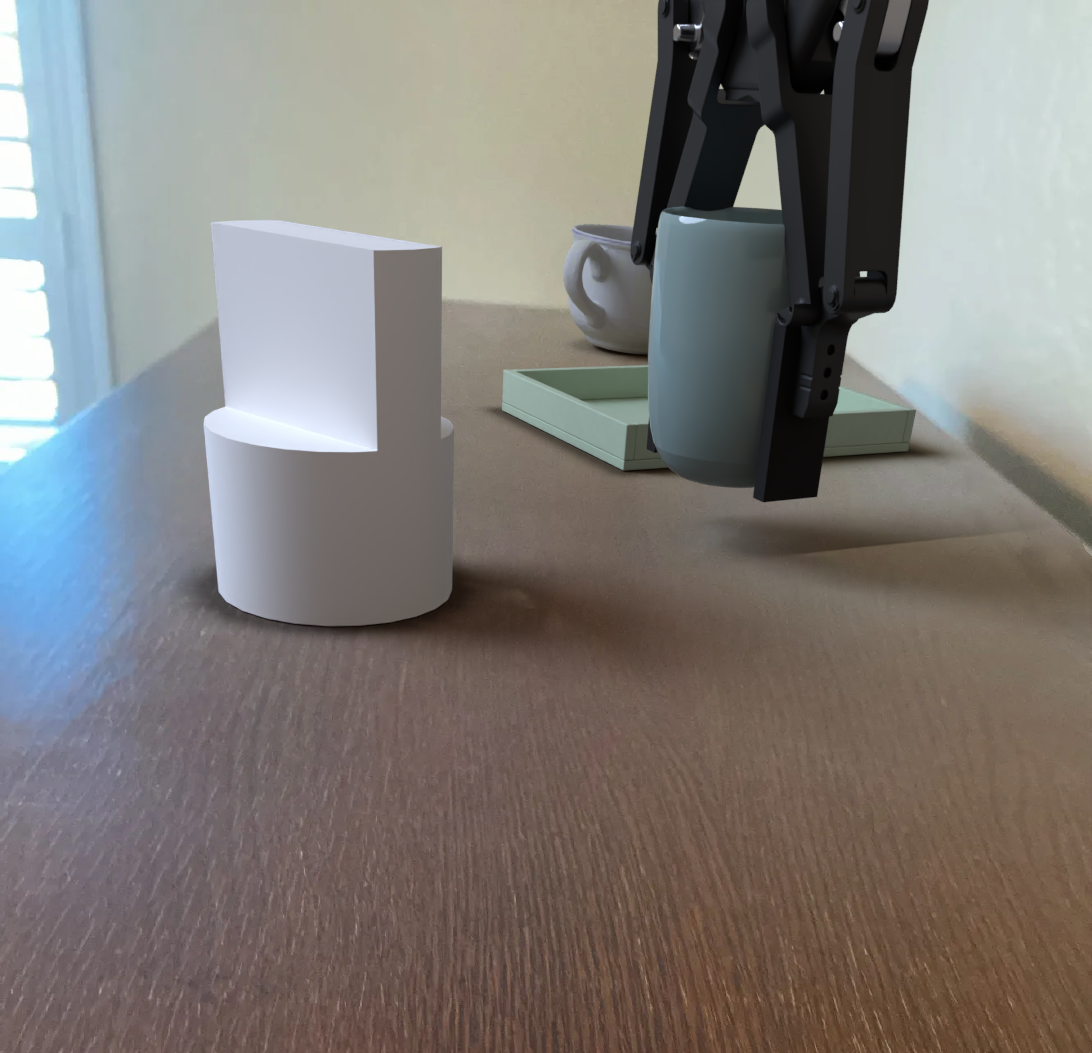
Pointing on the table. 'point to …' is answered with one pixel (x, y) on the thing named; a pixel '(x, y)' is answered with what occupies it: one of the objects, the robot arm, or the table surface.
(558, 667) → the table surface
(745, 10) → the robot arm
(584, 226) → the teacup
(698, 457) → the cup
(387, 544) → the cylinder with rectangular tab
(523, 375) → the tray
